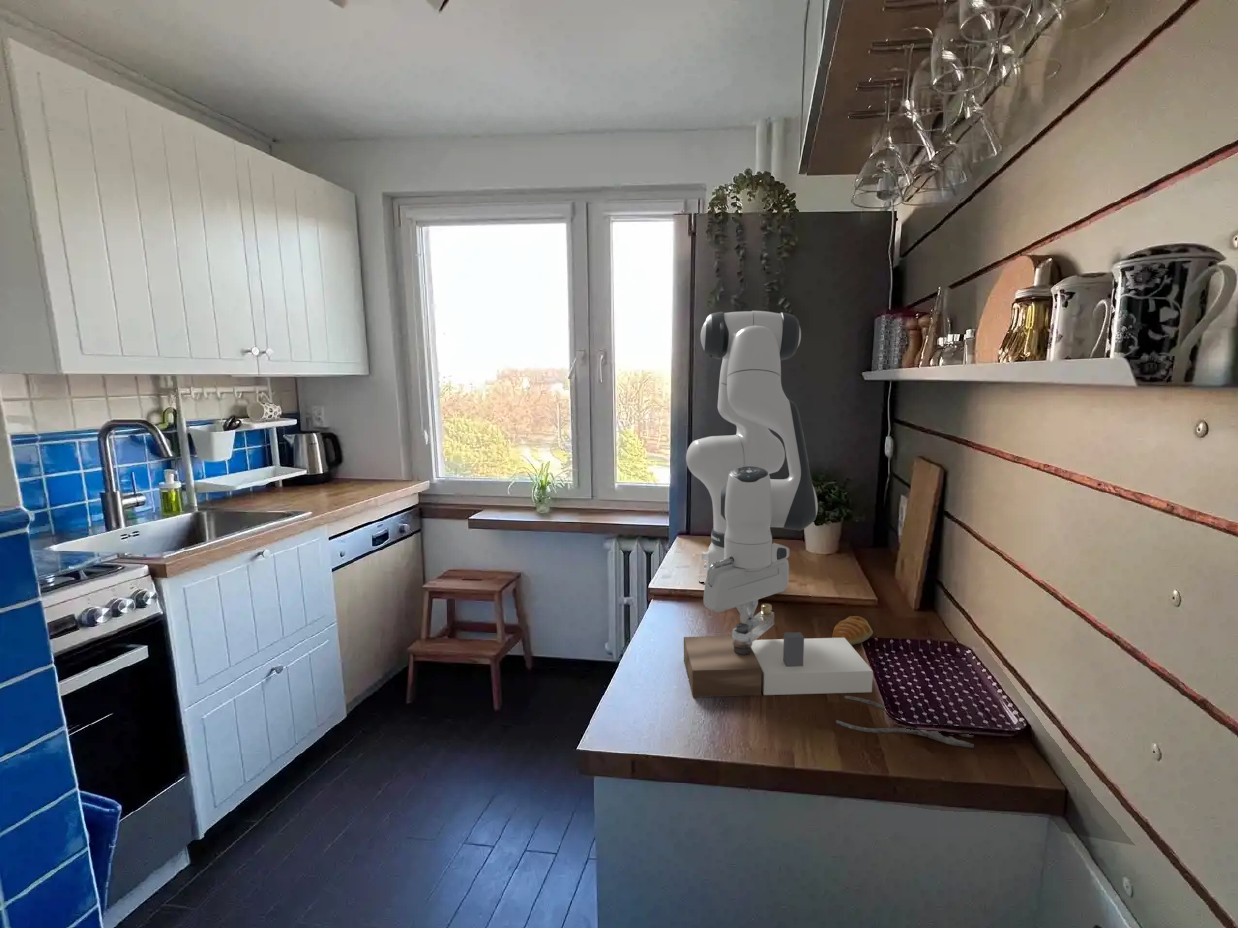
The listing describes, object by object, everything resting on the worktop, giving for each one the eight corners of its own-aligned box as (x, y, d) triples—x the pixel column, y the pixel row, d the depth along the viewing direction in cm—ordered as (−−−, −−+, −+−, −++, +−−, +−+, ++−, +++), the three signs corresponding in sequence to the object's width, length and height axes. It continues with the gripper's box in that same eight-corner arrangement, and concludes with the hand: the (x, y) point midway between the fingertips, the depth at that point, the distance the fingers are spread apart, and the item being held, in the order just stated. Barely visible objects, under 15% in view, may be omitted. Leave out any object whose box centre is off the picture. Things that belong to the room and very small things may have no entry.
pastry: (855, 651, 122) (855, 633, 121) (823, 641, 126) (823, 624, 126) (874, 636, 128) (875, 619, 127) (843, 627, 133) (844, 610, 132)
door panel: (747, 659, 119) (748, 613, 117) (843, 656, 119) (845, 610, 118) (763, 694, 106) (765, 644, 105) (871, 692, 106) (874, 641, 105)
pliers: (834, 692, 106) (963, 710, 100) (834, 697, 106) (963, 715, 100) (835, 724, 97) (978, 746, 90) (835, 729, 97) (977, 751, 91)
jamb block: (683, 660, 119) (683, 631, 118) (744, 659, 119) (745, 629, 118) (692, 696, 106) (692, 663, 105) (761, 695, 106) (761, 662, 105)
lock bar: (746, 650, 109) (746, 629, 108) (728, 644, 111) (728, 624, 111) (776, 625, 119) (777, 606, 118) (759, 620, 121) (760, 601, 120)
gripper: (720, 567, 107) (720, 642, 109) (795, 547, 119) (793, 614, 121) (696, 559, 112) (695, 630, 114) (769, 540, 124) (768, 605, 126)
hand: (746, 622), depth 117 cm, fingers closed
